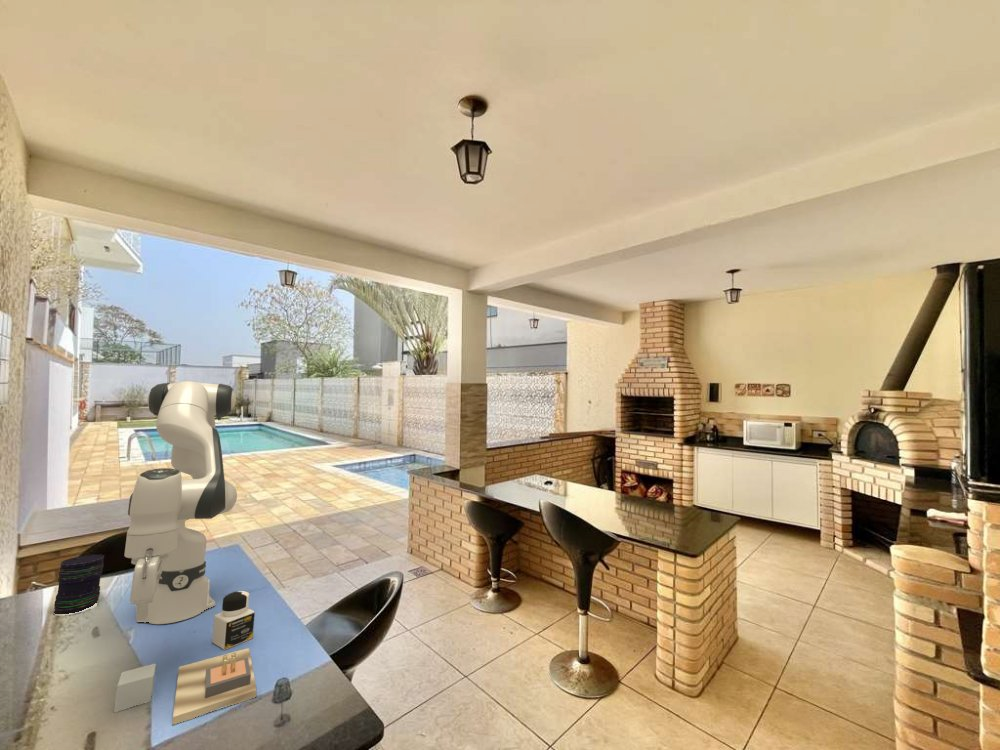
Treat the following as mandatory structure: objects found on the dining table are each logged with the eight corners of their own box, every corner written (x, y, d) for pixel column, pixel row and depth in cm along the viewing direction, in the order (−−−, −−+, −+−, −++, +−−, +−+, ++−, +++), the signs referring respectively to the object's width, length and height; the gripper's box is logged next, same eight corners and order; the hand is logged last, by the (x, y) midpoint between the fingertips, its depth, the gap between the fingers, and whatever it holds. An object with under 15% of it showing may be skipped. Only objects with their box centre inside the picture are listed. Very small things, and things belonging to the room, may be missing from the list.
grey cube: (118, 697, 85) (121, 672, 86) (153, 687, 88) (155, 663, 89) (113, 712, 81) (117, 685, 81) (150, 701, 84) (153, 676, 85)
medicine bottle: (224, 650, 103) (228, 601, 104) (211, 642, 107) (215, 595, 108) (253, 638, 109) (256, 592, 111) (240, 631, 113) (243, 586, 114)
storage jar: (107, 603, 130) (113, 555, 132) (72, 617, 120) (79, 565, 122) (80, 601, 131) (86, 553, 132) (43, 615, 121) (50, 563, 123)
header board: (178, 673, 93) (181, 643, 94) (248, 654, 102) (250, 626, 102) (172, 725, 77) (175, 688, 78) (255, 697, 86) (258, 664, 86)
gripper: (166, 553, 82) (158, 625, 80) (173, 532, 98) (167, 591, 97) (125, 559, 78) (116, 634, 77) (139, 536, 95) (132, 598, 93)
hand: (144, 610), depth 87 cm, fingers open, 8 cm apart
